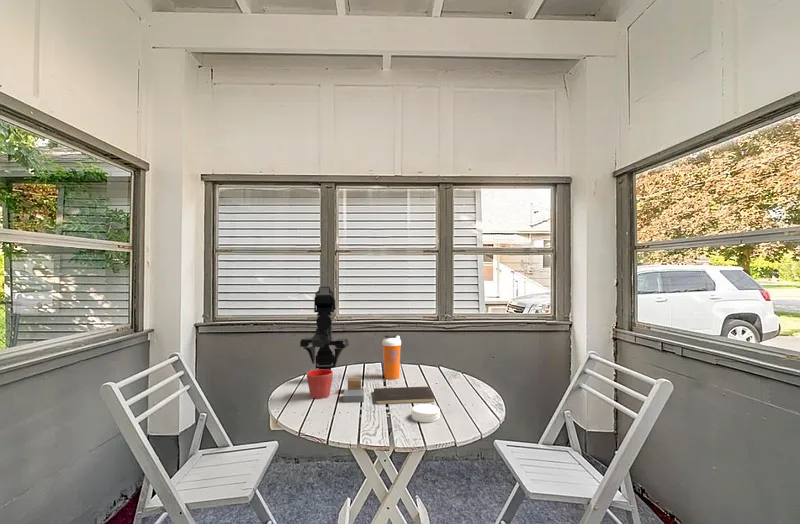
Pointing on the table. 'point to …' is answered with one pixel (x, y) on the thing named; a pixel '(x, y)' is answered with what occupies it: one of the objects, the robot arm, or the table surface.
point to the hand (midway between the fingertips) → (324, 364)
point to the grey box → (353, 396)
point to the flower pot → (319, 383)
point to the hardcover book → (403, 395)
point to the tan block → (354, 383)
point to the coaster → (425, 413)
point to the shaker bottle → (391, 356)
